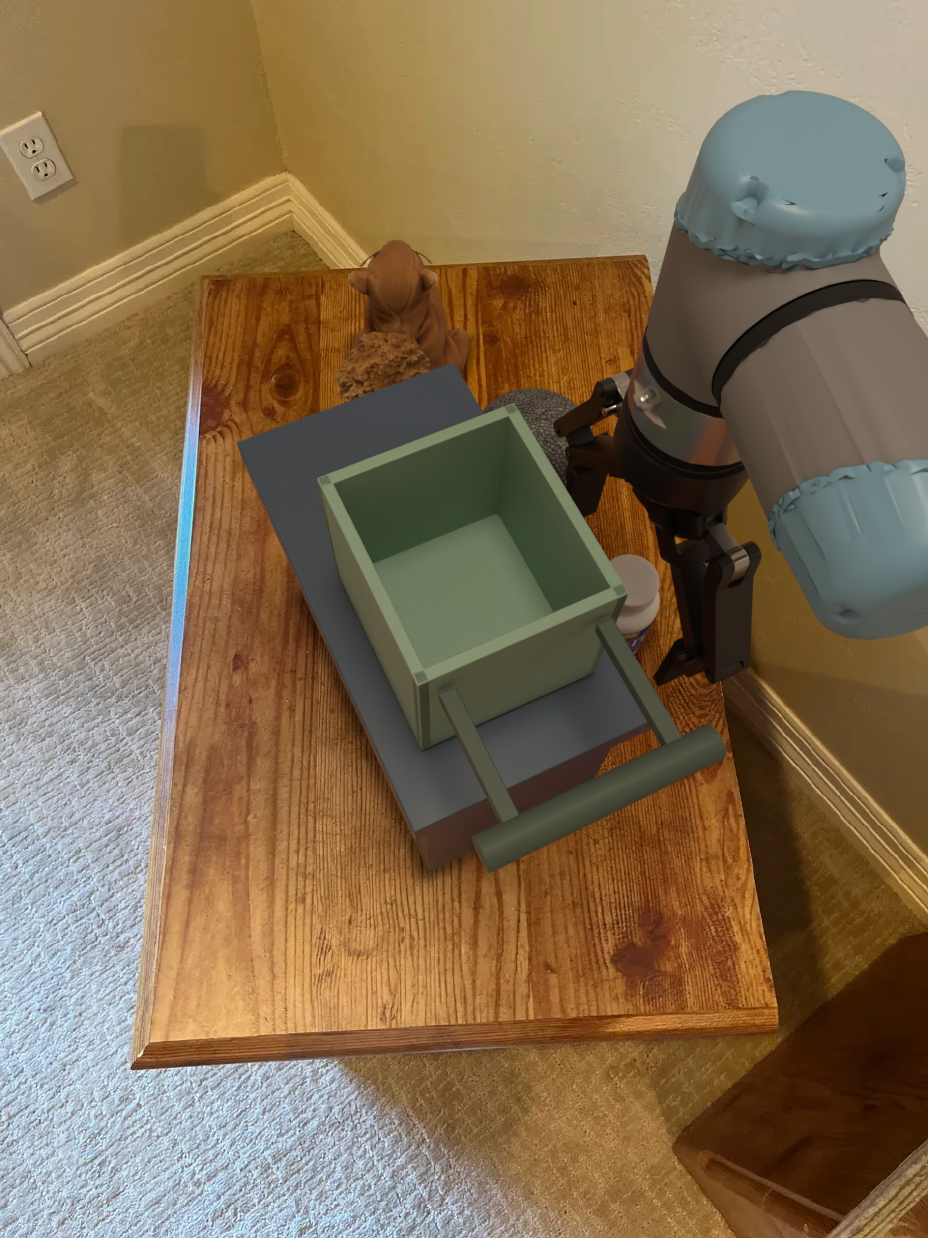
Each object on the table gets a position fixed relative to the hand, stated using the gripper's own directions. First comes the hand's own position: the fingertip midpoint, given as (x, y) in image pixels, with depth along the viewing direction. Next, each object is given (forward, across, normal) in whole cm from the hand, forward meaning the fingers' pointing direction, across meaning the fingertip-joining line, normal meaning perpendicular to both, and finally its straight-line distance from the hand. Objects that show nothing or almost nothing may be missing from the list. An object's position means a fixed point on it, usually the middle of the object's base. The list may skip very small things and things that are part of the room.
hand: (623, 592), depth 67 cm
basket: (-14, +6, -14) cm, 21 cm away
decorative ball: (+7, -14, 0) cm, 15 cm away
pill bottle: (+7, 0, 0) cm, 7 cm away
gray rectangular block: (+7, -1, -14) cm, 15 cm away
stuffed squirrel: (+7, -27, -5) cm, 28 cm away
